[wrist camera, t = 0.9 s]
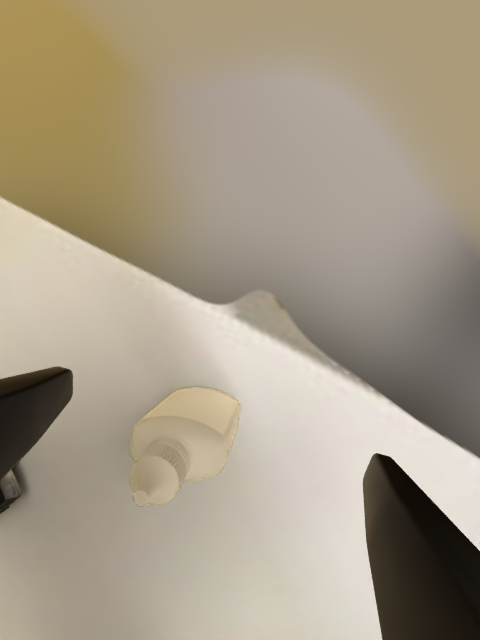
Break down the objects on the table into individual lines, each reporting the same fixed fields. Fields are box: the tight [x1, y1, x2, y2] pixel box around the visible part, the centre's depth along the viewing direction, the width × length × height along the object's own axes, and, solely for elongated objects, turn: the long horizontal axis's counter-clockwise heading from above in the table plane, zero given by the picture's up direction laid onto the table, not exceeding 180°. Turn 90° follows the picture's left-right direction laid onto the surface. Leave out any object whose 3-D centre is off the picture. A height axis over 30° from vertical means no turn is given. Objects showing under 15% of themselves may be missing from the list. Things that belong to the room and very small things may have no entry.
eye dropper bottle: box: [130, 387, 241, 507], centre depth 19 cm, size 4×6×12 cm
